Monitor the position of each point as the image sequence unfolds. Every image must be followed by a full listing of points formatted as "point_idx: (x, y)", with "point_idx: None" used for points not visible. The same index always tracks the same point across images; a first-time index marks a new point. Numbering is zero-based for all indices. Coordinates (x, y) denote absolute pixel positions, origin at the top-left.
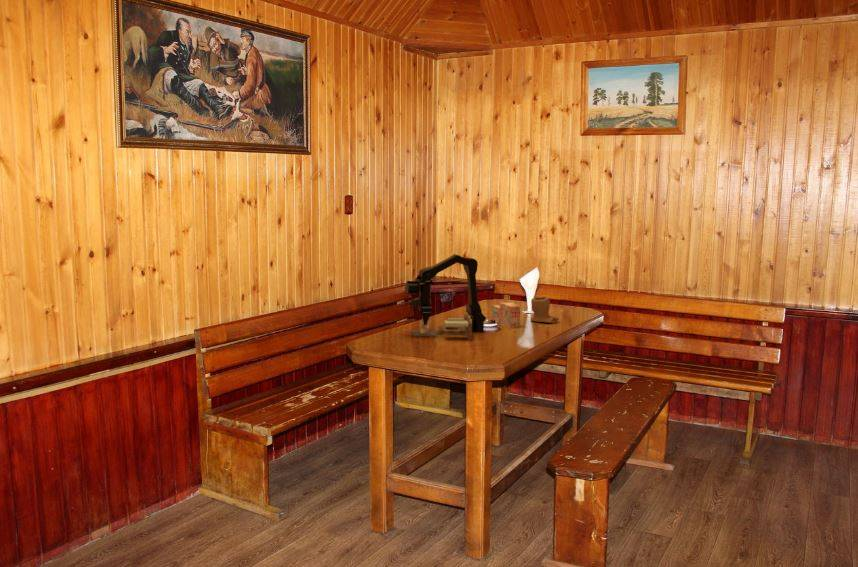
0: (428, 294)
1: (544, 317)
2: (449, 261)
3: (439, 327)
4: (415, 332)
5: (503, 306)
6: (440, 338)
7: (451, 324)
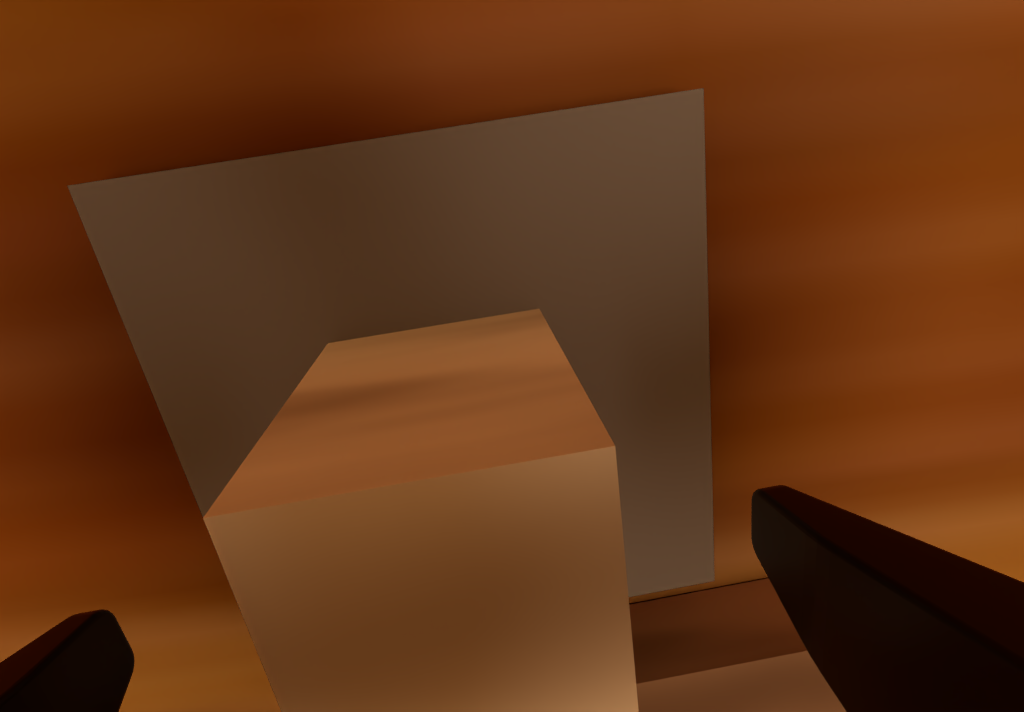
0: None
1: None
2: None
3: (783, 672)
4: (406, 203)
5: None
6: (216, 687)
7: None
